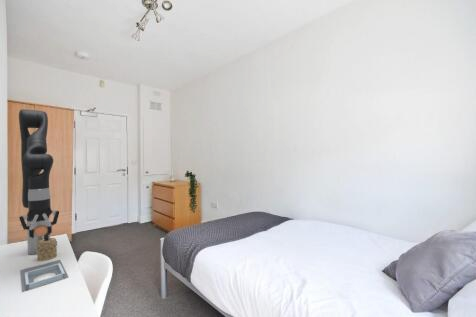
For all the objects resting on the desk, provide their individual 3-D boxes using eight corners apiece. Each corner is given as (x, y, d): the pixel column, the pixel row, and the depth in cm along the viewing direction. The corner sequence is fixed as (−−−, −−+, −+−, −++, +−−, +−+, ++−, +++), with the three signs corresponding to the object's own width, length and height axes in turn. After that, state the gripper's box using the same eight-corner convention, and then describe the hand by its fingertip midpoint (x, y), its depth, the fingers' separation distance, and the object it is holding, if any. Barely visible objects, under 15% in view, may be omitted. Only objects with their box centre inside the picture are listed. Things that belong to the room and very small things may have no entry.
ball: (33, 236, 103) (32, 225, 103) (47, 233, 107) (47, 222, 107) (33, 239, 100) (33, 227, 100) (48, 236, 103) (48, 225, 103)
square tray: (24, 277, 95) (24, 272, 95) (60, 267, 103) (59, 262, 103) (26, 290, 85) (26, 285, 85) (65, 278, 93) (64, 273, 93)
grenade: (45, 262, 110) (44, 231, 109) (33, 261, 111) (32, 230, 111) (60, 255, 117) (59, 226, 117) (49, 255, 118) (48, 226, 118)
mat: (20, 271, 101) (20, 270, 101) (60, 260, 111) (60, 259, 111) (22, 293, 84) (21, 292, 84) (68, 278, 94) (68, 277, 94)
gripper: (58, 195, 111) (59, 230, 111) (17, 199, 101) (18, 238, 101) (60, 197, 105) (61, 233, 106) (17, 202, 95) (18, 242, 96)
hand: (40, 235), depth 103 cm, fingers closed on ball, 5 cm apart
